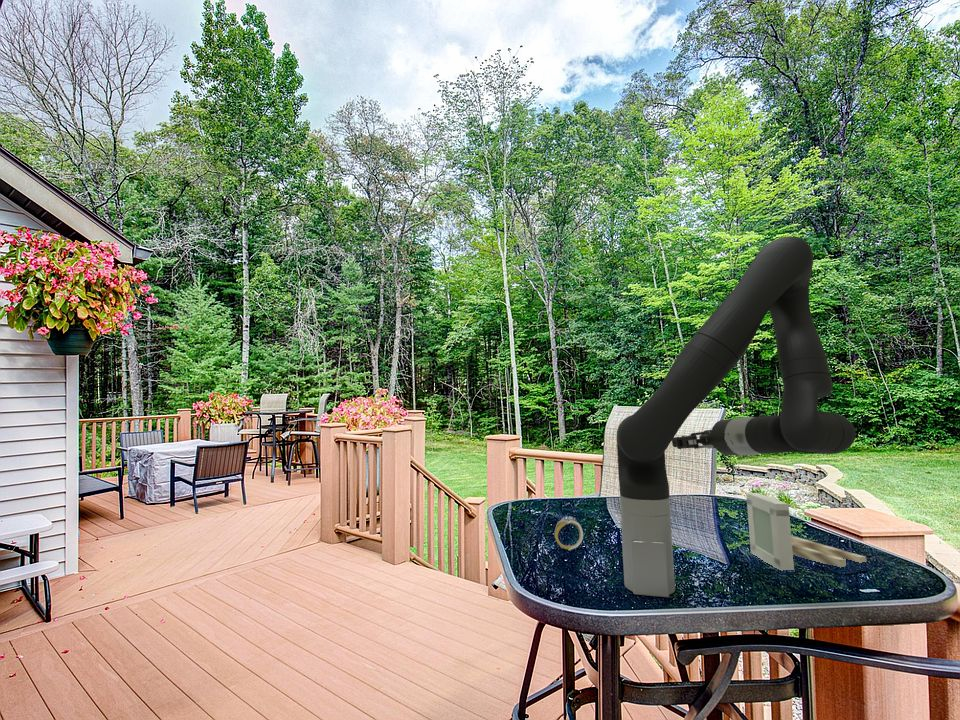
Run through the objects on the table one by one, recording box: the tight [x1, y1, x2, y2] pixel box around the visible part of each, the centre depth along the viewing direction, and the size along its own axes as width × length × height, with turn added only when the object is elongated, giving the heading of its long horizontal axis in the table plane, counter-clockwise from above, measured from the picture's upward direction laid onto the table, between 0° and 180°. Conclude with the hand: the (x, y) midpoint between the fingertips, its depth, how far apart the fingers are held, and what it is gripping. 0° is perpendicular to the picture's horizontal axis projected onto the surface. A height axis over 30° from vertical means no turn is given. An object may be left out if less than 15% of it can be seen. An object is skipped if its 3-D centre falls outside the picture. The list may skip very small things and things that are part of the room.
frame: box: [745, 492, 795, 571], centre depth 102 cm, size 13×3×14 cm, turn 174°
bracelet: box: [554, 515, 584, 551], centre depth 114 cm, size 7×3×8 cm, turn 89°
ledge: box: [791, 534, 867, 568], centre depth 104 cm, size 20×7×3 cm, turn 14°
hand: (688, 440), depth 109 cm, fingers open, 8 cm apart
